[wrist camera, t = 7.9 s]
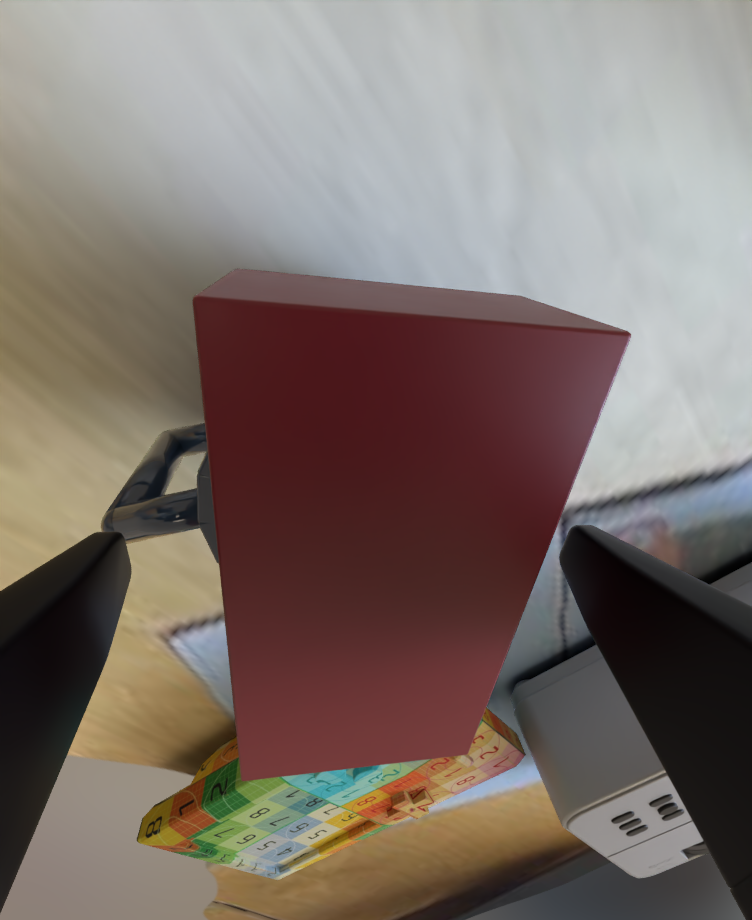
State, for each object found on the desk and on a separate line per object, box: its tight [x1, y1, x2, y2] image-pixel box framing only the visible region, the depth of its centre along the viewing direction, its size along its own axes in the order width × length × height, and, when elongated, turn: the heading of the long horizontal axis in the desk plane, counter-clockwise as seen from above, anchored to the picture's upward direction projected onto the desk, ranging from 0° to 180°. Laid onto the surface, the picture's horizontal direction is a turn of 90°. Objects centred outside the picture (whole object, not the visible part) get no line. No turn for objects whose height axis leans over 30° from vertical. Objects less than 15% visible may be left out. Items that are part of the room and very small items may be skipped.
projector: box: [511, 562, 752, 878], centre depth 27 cm, size 17×22×8 cm
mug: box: [101, 423, 219, 563], centre depth 13 cm, size 10×7×8 cm
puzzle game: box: [137, 707, 526, 880], centre depth 26 cm, size 12×5×20 cm
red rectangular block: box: [193, 269, 631, 781], centre depth 8 cm, size 10×5×3 cm, turn 174°
